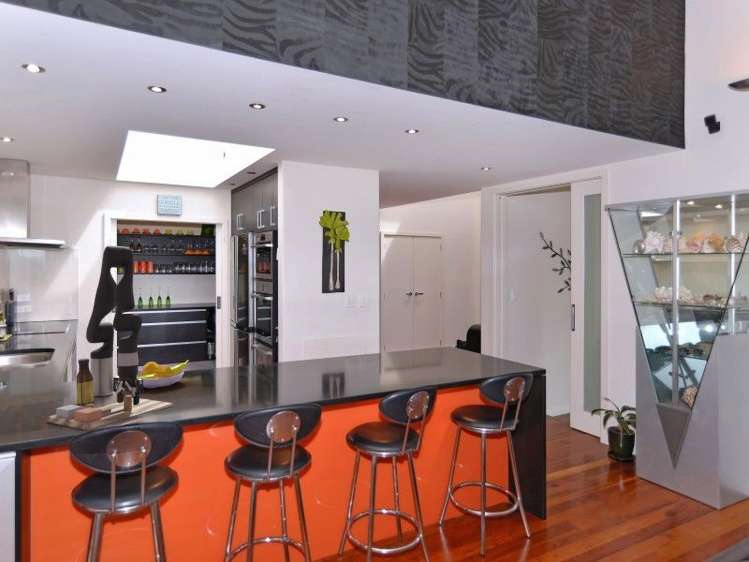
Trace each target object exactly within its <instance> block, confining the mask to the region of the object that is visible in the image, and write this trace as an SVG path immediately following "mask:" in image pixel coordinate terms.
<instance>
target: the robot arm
mask: <svg viewBox="0 0 749 562" xmlns="http://www.w3.org/2000/svg"><path fill="white" fill-rule="evenodd" d="M101 259H102V261H101V268H100V275H99V279H98V282H97V283H98V284H97V286H96V287H97V288H96V291H95V294H94V295H95V296H94V300H93V301H94V303H93V307H92V310H91V311H92V312H91V315H90V318H89V321H88V323H87V327H86V331H85V332H86V333H85V338H86V342H87V343H89V344H100V343H101V344H102V343H103V344H102V345H101V346H100V347H98V348H97V349H94V350H92V351H91V352H90V353H89V354H90V358H89V370H90V372H91V375H92V377H93V389H94V396H101V397H107V395H108V396H111V395H113V394H114V393H115V394H116V397H117V398H116V400H117V402H118V403H122V402H123V401H124V396H125V395H124V391H125V390H129V392H131V395H132V398H133V405H138V404H139V398H140V395H142V394H144V391H145V390H144V387H143V379H137V377H136V376H137V375H138V371H139V355H138V343H139V335H140V332H141V329H142V326H143V325H142V324H143V318H142V316H141V315H140V314H139V313H128V312H131V311H133V310H134V309H135V308H136V303H135V294H134V288H133V287H134V284H133V283H134V252H133V249H132V248H130V247H129V246H123V245H122V246H119V245H107V246H106V247H105V248H104V250H103V253H102V258H101ZM113 268H115V269H124V274H123V276H122V278H121V279H120V281H119V282H118V284H117V282H116V281H115V279H114V276H113V275H112V272H111V269H113ZM114 309H115V312H114V316H113V321H112V322H108V321H107V322H103V319H104V318H106V316H108V315H109V314H110V313H111V312H112V311H113V310H114ZM115 331H116V332H118V333H124V332H131V333H130V334H129V335H127V336H123V337H121V338H119V339H118V341H117V376H114V344H115V343H114V341H115V338H114V337H115Z"/></svg>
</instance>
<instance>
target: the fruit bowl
mask: <svg viewBox="0 0 749 562" xmlns="http://www.w3.org/2000/svg"><path fill="white" fill-rule="evenodd" d="M189 361H190V360H189V359H187V360H186V361H185V362H182V363H181V362H180V363H179V364H177V365H172V366H171V367H169V366H168V365H160V364H159V363H157V362H155V361H148V362H147V363H145V364H144V365H143V366H142V368H141V369H140V370H138V375H137V376H136V377H137V379H143V388H146V389H156V388H157V387H158V388H163V387H166V386H167V387H170V386H171V385H173V384H175V383H177V382H179V381H181V380H182V378H183V376H184V373H185V370H184V369H185V367H186V366H187V364H188V363H189ZM158 388H157V389H158Z"/></svg>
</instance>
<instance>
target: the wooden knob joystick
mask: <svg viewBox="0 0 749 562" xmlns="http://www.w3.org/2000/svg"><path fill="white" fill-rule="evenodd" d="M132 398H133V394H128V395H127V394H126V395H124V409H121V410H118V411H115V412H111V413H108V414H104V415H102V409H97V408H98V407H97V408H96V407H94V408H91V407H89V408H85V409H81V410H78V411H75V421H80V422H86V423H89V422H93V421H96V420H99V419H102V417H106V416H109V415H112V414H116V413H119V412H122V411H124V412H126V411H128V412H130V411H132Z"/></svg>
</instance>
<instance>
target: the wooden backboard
mask: <svg viewBox="0 0 749 562" xmlns="http://www.w3.org/2000/svg"><path fill="white" fill-rule="evenodd" d="M172 406H174V405H173V403H172V402H166V401H159V400H155V399H146V398H140V397H139V404H138V405H133V397H132V411H130V412H128V411H126V412H124V411H122V412H119V413H116V414H112V415H109V416H106V417H102V419H99V420H96V421H93V422H89V423H86V422H80V421H75V418H71V419H65V418H59V417H56V413H55V414H51V415H48V416H46V420H47V421H46V422H47V423H50V424H54V425H55V424H56V425H59V426H67V427H70V428H75V429H80V430H85V431H89V430H93V429H96V428H99V427H102V426H105V425H109V424H112V423H115V422H118V421H121V420H122V421H123V420H125V419H127V418H131V417H135V416H137V415H140V414H143V413H146V412H151V411H153V410H154V411H160V410H164V409H167V408H169V407H172ZM82 407H83V409H85V408H86V405H84V406H82ZM97 409H102V415H104V414H108V413H111V412H115V411H118V410H121V409H124V401H123V402H122V403H118V401H117V402H114V403H110V404H107V405H104V406H100V407H97Z"/></svg>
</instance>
